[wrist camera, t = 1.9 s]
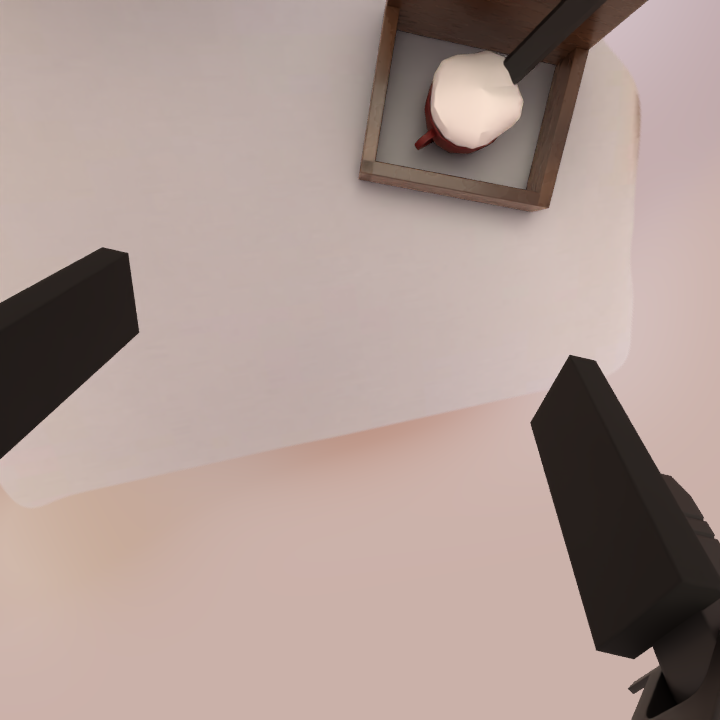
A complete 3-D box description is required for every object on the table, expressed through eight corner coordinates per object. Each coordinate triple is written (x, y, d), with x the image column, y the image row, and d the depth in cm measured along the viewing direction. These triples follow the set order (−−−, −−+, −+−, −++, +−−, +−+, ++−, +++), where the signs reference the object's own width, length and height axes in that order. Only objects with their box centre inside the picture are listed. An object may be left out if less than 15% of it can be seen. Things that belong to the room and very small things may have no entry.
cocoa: (412, 172, 35) (448, 130, 23) (397, 88, 33) (428, -2, 22) (525, 146, 35) (618, 90, 23) (514, 60, 33) (608, -45, 22)
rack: (385, 1, 32) (424, -212, 17) (573, 43, 33) (755, -123, 19) (358, 179, 35) (371, 123, 20) (532, 212, 36) (662, 181, 22)
